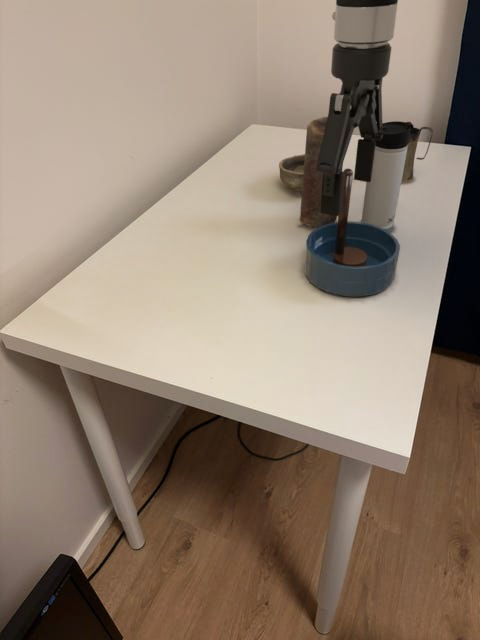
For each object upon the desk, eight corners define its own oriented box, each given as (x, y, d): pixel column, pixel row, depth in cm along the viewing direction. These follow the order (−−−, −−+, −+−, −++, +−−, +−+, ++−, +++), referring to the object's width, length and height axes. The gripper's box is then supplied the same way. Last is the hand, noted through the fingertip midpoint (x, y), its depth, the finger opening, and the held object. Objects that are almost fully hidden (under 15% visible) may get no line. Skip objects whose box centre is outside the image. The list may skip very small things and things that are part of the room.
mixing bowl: (404, 263, 86) (411, 233, 82) (376, 309, 76) (381, 278, 73) (325, 242, 93) (328, 214, 89) (289, 283, 83) (290, 253, 79)
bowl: (266, 193, 110) (266, 149, 104) (303, 166, 121) (304, 126, 115) (320, 207, 104) (323, 161, 98) (354, 177, 115) (359, 135, 109)
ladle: (369, 266, 85) (384, 167, 74) (357, 282, 81) (372, 181, 70) (339, 258, 87) (350, 161, 76) (326, 273, 84) (336, 174, 72)
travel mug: (397, 234, 94) (418, 129, 81) (363, 235, 94) (378, 130, 82) (390, 219, 99) (408, 117, 86) (358, 219, 99) (371, 118, 86)
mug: (385, 180, 113) (393, 128, 106) (390, 172, 117) (398, 120, 109) (420, 186, 110) (431, 132, 103) (424, 176, 114) (435, 124, 106)
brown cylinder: (344, 222, 99) (355, 120, 86) (323, 236, 95) (332, 132, 82) (313, 211, 103) (319, 113, 90) (292, 224, 99) (296, 123, 86)
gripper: (367, 26, 73) (353, 164, 86) (293, 60, 56) (289, 224, 70) (418, 28, 69) (395, 171, 83) (355, 64, 53) (339, 236, 66)
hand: (347, 196), depth 76 cm, fingers open, 13 cm apart
